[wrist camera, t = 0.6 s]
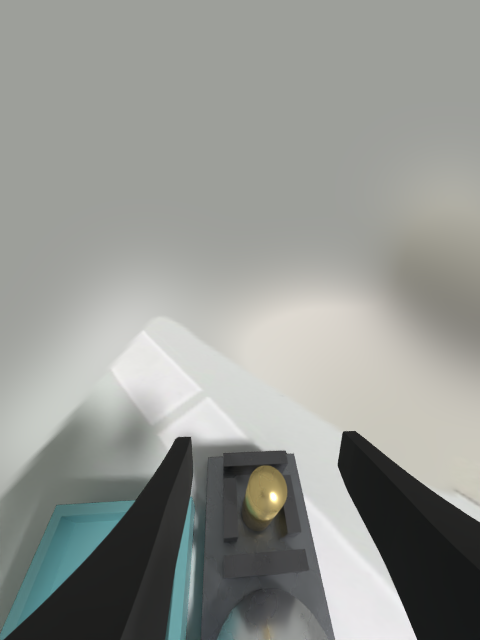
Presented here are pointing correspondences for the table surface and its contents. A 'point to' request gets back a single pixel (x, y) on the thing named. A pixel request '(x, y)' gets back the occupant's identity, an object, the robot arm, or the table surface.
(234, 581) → the plate
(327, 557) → the table surface
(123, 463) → the table surface
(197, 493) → the table surface
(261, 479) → the pin
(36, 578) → the tray
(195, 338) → the table surface
